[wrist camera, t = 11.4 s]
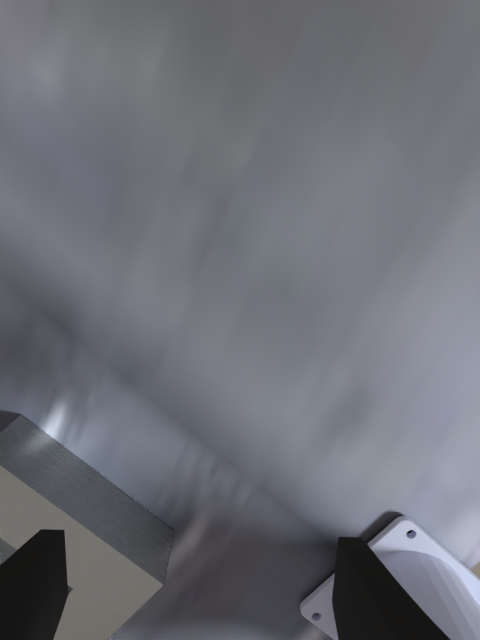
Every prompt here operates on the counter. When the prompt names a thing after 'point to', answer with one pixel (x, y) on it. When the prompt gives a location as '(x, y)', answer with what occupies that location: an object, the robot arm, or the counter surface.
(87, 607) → the block
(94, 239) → the counter surface
